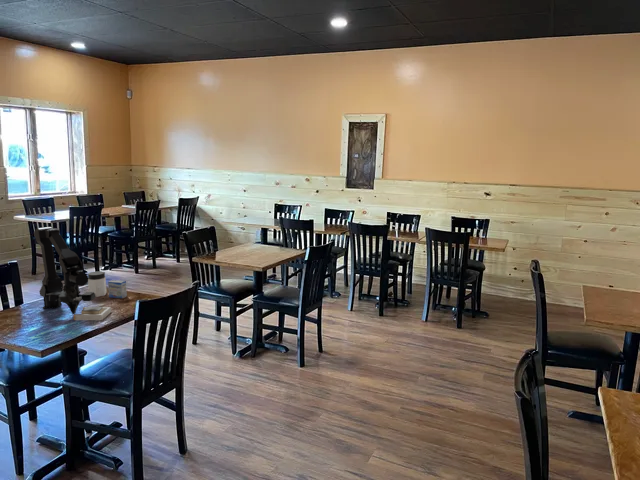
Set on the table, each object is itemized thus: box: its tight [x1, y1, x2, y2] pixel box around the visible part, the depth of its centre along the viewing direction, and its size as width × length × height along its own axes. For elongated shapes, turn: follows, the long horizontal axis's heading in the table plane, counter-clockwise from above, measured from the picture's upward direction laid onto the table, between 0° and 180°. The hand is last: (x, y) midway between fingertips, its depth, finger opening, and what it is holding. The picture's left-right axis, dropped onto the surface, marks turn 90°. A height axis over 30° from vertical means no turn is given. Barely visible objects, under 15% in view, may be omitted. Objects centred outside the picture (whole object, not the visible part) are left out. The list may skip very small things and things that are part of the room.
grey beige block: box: [80, 306, 104, 314], centre depth 218 cm, size 8×5×4 cm, turn 94°
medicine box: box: [107, 279, 128, 299], centre depth 248 cm, size 8×4×9 cm, turn 81°
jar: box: [87, 270, 107, 298], centre depth 251 cm, size 9×8×12 cm
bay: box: [73, 306, 112, 321], centre depth 219 cm, size 12×11×2 cm
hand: (73, 313), depth 219 cm, fingers closed
